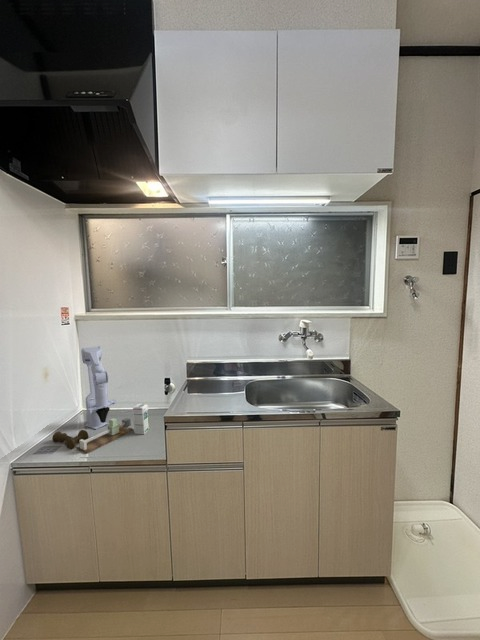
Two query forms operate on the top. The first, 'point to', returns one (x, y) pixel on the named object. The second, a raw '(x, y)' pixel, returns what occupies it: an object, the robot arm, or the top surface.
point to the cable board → (104, 440)
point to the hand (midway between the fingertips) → (103, 422)
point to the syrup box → (141, 418)
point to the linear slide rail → (125, 424)
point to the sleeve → (113, 426)
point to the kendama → (70, 438)
